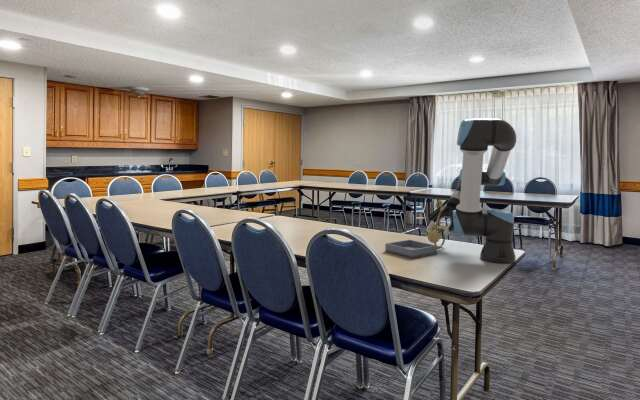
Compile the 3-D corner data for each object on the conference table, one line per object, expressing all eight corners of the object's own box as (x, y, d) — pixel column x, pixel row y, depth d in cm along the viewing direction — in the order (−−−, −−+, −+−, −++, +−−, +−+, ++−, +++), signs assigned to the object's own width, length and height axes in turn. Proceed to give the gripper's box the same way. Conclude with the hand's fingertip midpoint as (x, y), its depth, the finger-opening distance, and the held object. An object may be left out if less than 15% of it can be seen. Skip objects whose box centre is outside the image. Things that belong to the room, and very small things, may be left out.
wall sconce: (441, 251, 213) (443, 202, 210) (424, 248, 219) (426, 200, 217) (453, 247, 223) (455, 200, 220) (436, 244, 229) (438, 198, 227)
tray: (436, 253, 208) (437, 245, 208) (412, 258, 198) (412, 250, 197) (409, 247, 222) (409, 239, 222) (385, 251, 212) (385, 243, 211)
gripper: (478, 208, 219) (458, 241, 211) (441, 203, 237) (421, 234, 230) (472, 198, 215) (451, 232, 208) (435, 194, 233) (415, 225, 226)
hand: (436, 233), depth 219 cm, fingers open, 10 cm apart
